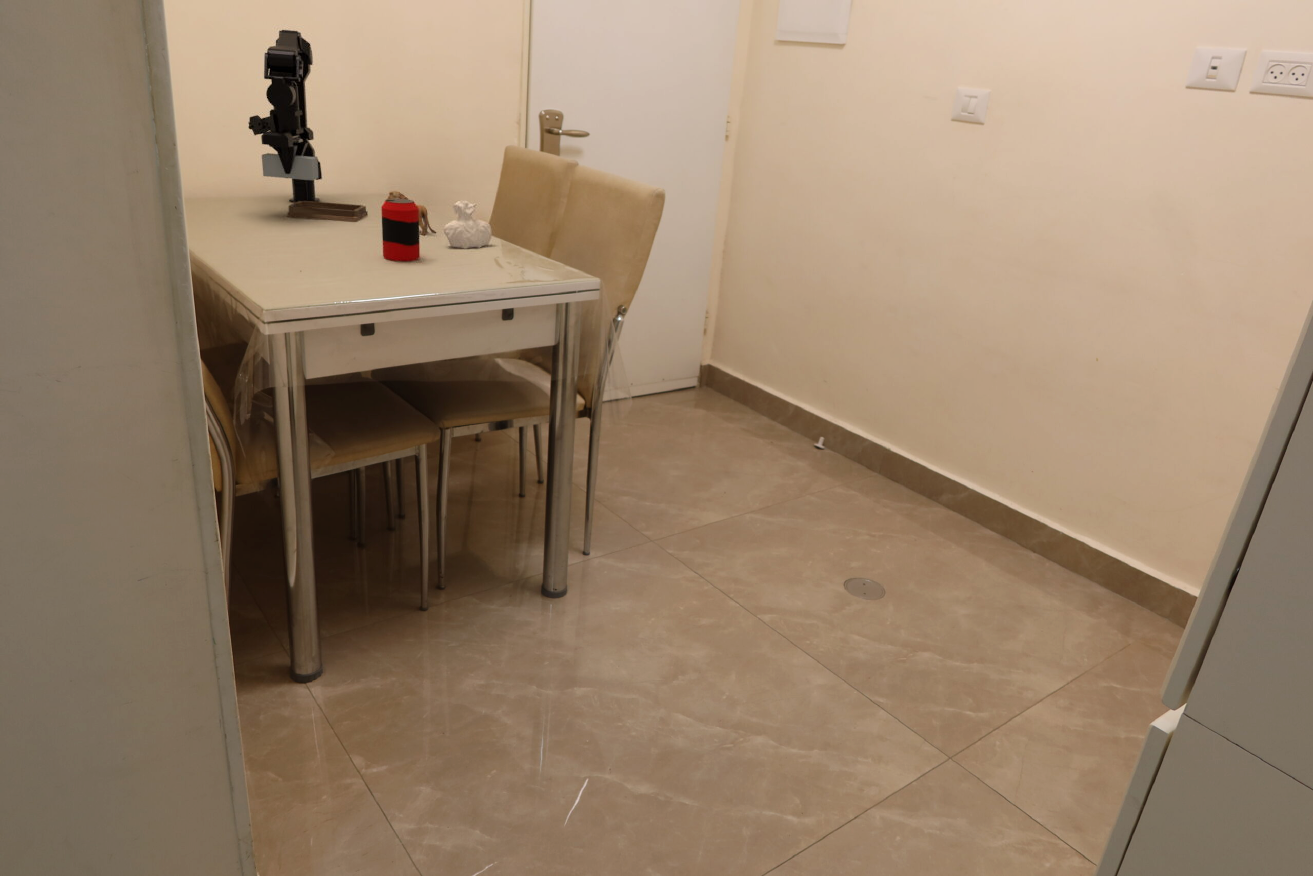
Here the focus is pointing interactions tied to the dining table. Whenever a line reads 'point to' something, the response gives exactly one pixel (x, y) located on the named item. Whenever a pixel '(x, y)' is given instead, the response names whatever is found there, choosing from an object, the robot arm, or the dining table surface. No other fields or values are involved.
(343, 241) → the dining table surface
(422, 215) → the lion figurine
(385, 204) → the soda can
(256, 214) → the dining table surface
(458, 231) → the white tied bag
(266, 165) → the grey block
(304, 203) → the brown wooden tray
